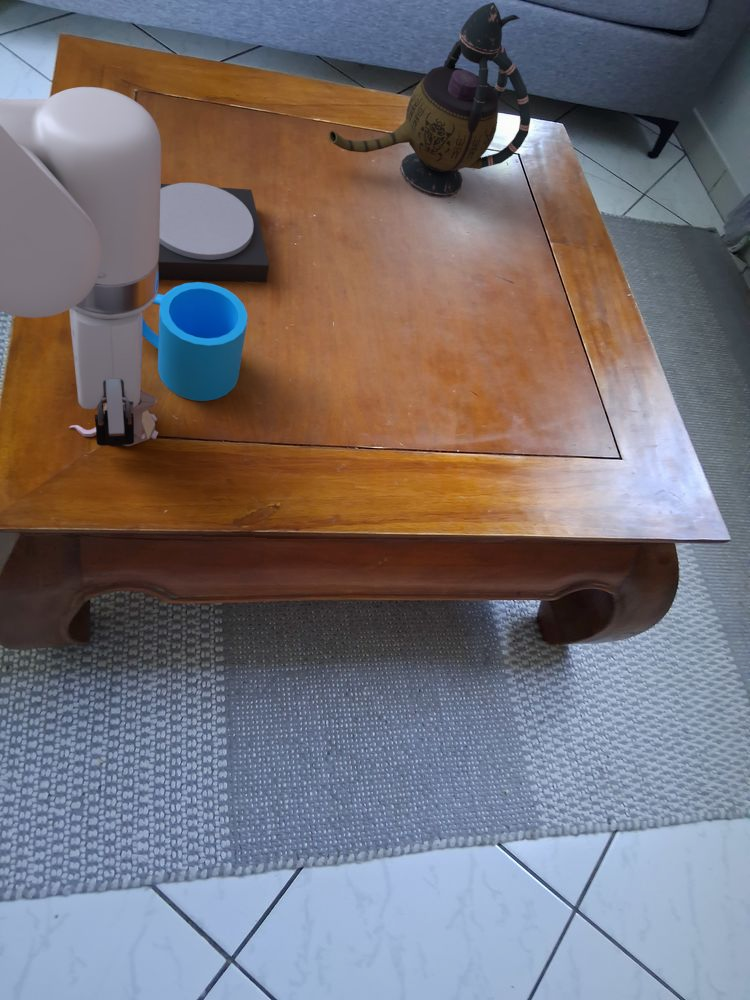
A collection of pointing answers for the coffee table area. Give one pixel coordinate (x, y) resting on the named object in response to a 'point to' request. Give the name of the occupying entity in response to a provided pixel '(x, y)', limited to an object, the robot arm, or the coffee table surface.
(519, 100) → the teapot
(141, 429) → the mouse figurine
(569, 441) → the coffee table surface
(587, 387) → the coffee table surface
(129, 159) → the robot arm
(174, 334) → the mug
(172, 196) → the kitchen scale
